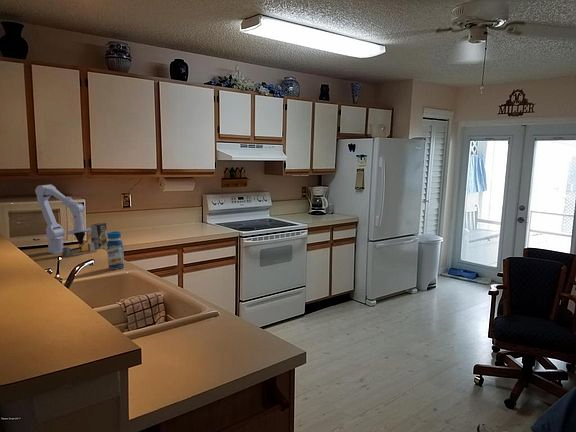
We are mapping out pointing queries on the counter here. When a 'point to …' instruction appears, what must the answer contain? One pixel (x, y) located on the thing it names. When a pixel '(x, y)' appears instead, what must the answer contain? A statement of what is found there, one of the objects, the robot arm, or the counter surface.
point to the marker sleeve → (83, 246)
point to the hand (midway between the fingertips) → (80, 244)
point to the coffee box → (99, 235)
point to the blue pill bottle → (115, 250)
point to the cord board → (69, 253)
